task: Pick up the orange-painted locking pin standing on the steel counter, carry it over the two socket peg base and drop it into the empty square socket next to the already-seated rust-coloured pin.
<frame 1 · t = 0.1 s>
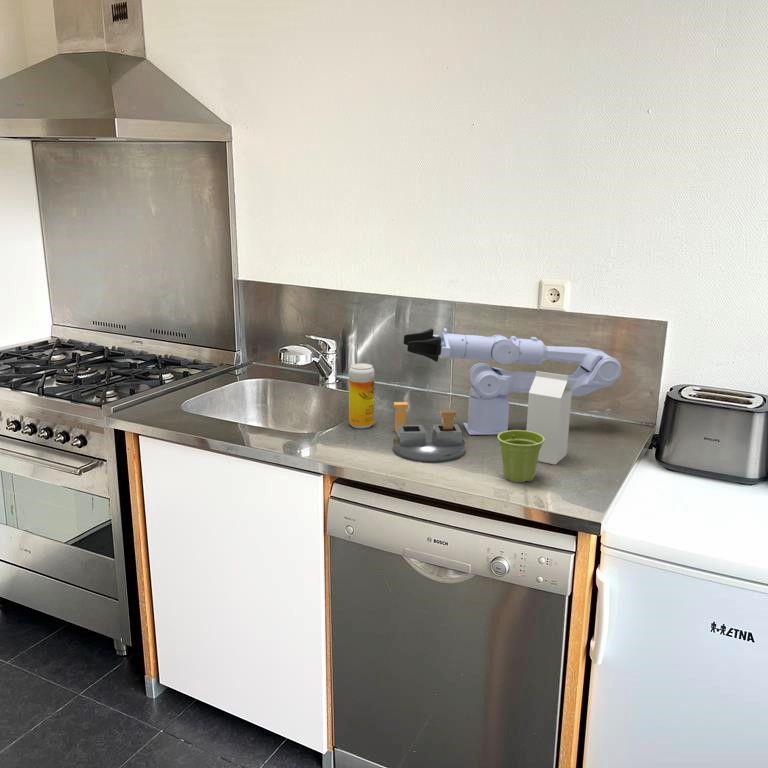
hand: (405, 343, 177), 22 cm above the worktop, tool horizontal, fingers open, 7 cm apart
wedge pin: (400, 431, 183), on the worktop
two socket peg base: (428, 449, 171), on the worktop
beer can: (361, 426, 187), on the worktop
plant pot: (518, 478, 156), on the worktop
milk carton: (545, 458, 167), on the worktop
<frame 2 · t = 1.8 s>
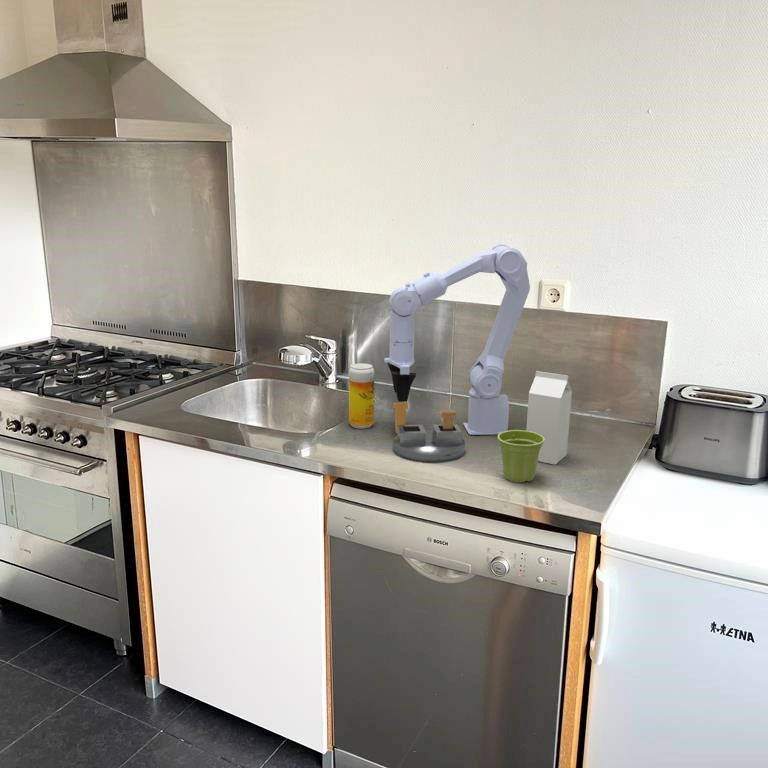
hand: (400, 396, 181), 9 cm above the worktop, tool pointing down, fingers open, 7 cm apart
nothing on the worktop moved.
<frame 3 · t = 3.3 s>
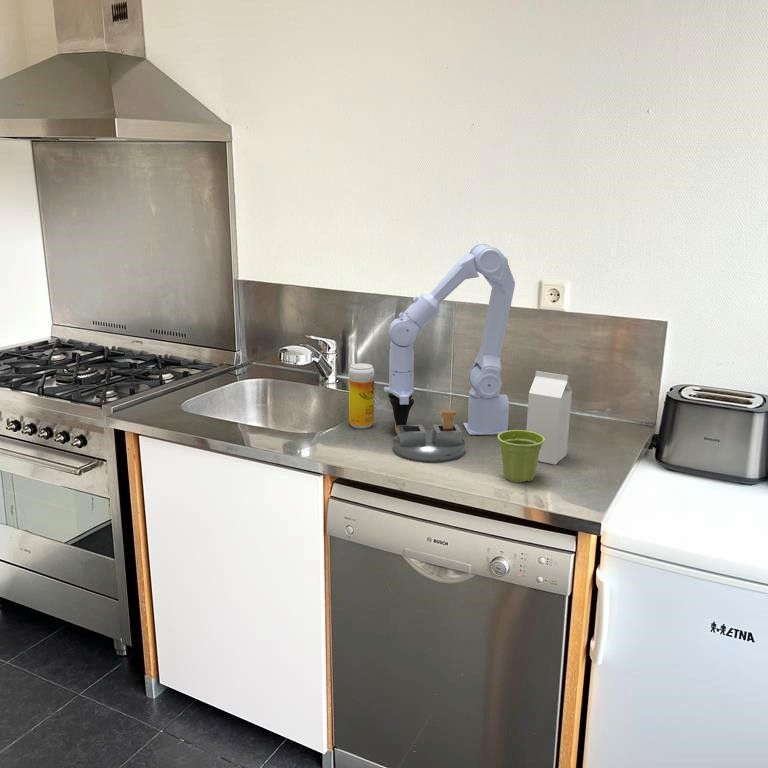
hand: (400, 424, 182), 2 cm above the worktop, tool pointing down, fingers closed on wedge pin, 2 cm apart
wedge pin: (400, 431, 183), on the worktop, touching gripper
everything else where it was.
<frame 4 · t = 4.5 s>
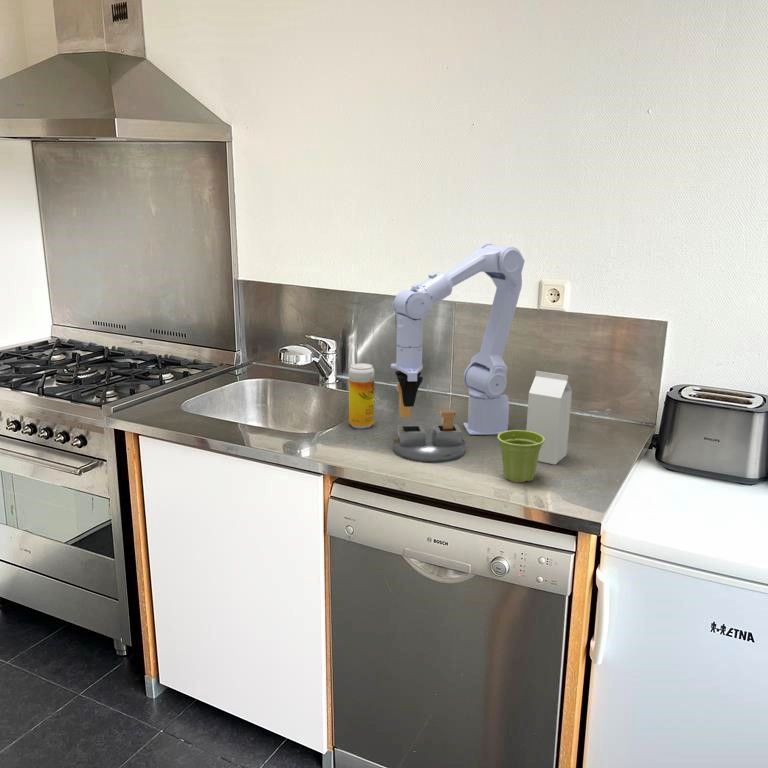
hand: (408, 404, 172), 9 cm above the worktop, tool pointing down, fingers closed on wedge pin, 2 cm apart
wedge pin: (405, 415, 172), point 7 cm above the worktop, touching gripper
everything else where it was.
when the fingers open (5 cm above the worktop, at t = 5.8 s): wedge pin stays where it is, resting on two socket peg base.
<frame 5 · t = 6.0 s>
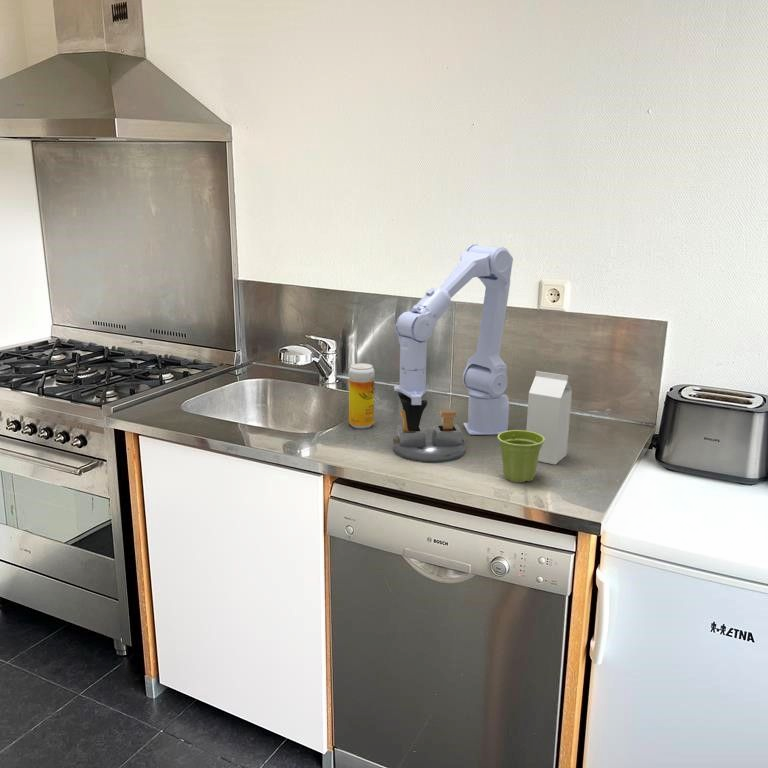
hand: (411, 427, 169), 5 cm above the worktop, tool pointing down, fingers open, 4 cm apart
wedge pin: (408, 441, 170), point 2 cm above the worktop, touching two socket peg base
everything else where it was.
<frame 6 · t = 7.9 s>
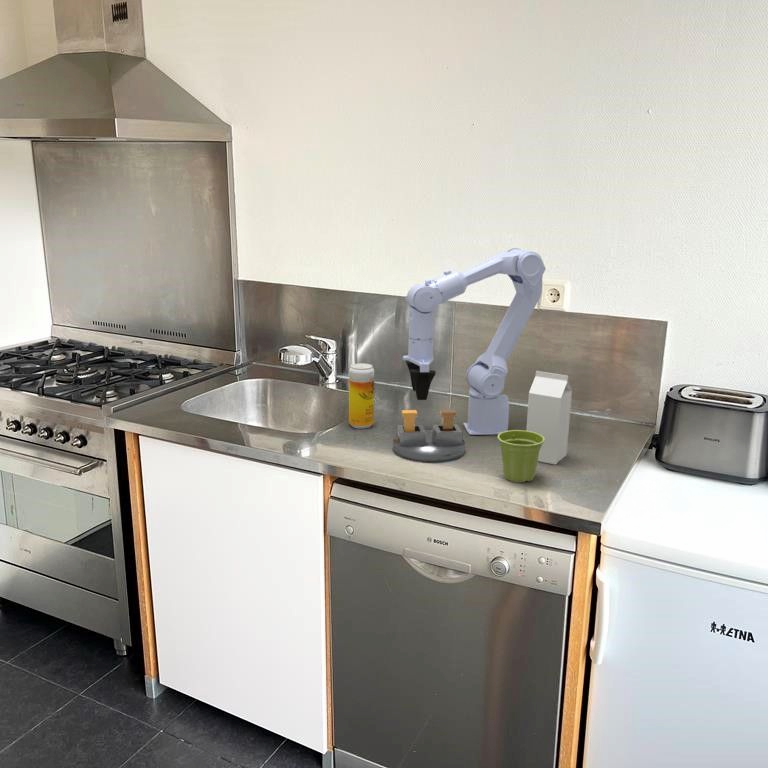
hand: (419, 394, 178), 10 cm above the worktop, tool pointing down, fingers open, 7 cm apart
nothing on the worktop moved.
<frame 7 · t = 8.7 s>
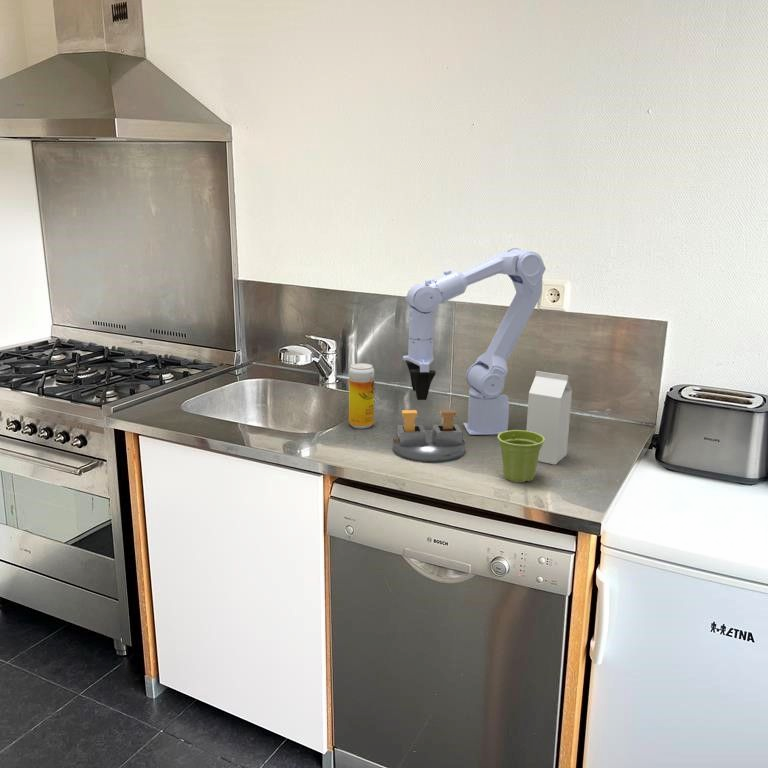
hand: (419, 394, 178), 10 cm above the worktop, tool pointing down, fingers open, 7 cm apart
nothing on the worktop moved.
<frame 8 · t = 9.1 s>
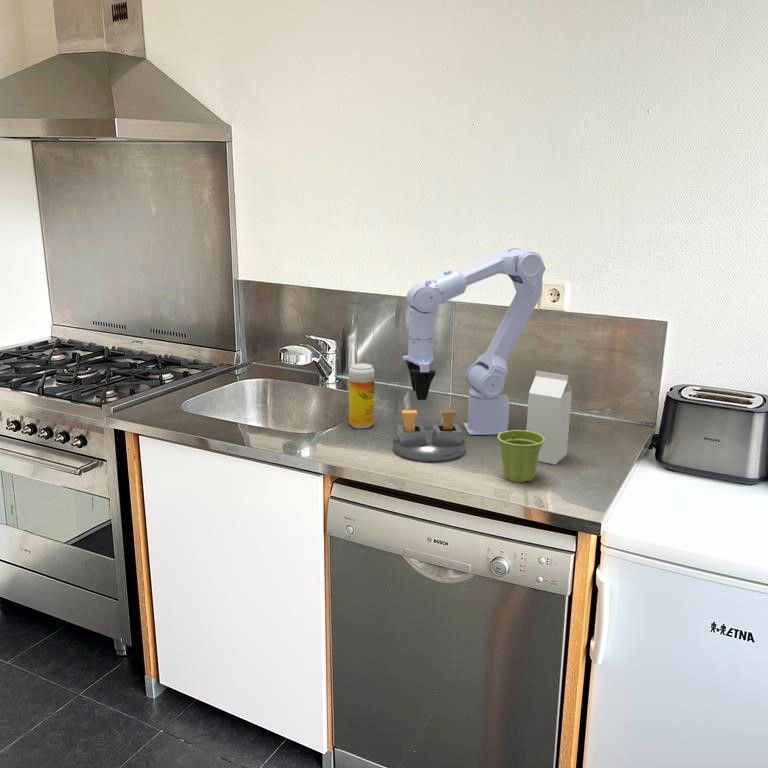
hand: (419, 394, 178), 10 cm above the worktop, tool pointing down, fingers open, 7 cm apart
nothing on the worktop moved.
at the end: wedge pin 0.5 cm from the target spot on the two socket peg base, point 2.0 cm above the two socket peg base's base; wedge pin tilted 0°; the gripper is holding nothing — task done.
